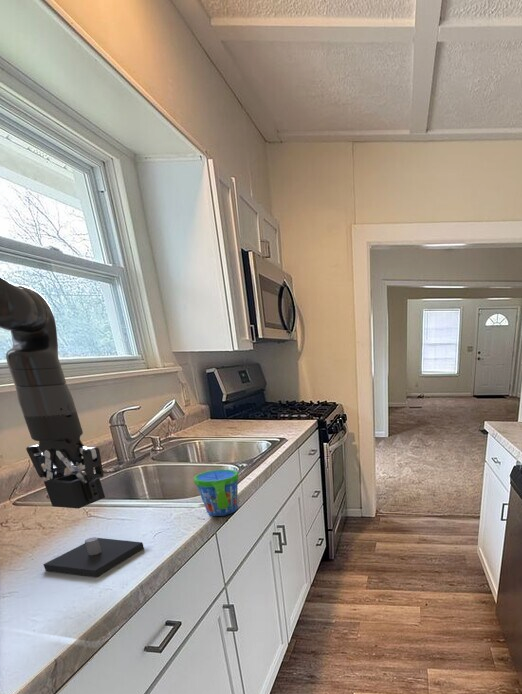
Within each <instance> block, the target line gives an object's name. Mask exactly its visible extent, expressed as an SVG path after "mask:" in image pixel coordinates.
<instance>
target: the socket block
mask: <svg viewBox="0 0 522 694" xmlns="http://www.w3.org/2000/svg"><path fill="white" fill-rule="evenodd" d="M82 473H83V474H84V476H87V475H86V473H85V472H82ZM43 483H44V486H45V489H46V492H47V494H48V498H49V501H50V503H51V506H52V507H53V508H67V509H77V510H78V509H81V508H84V507H86V506H89V505H91V504H94V503H96V502H98V501H101V500H104V499H105V498H106V494H105V491H104V488H103V486H102V485H103V484H102V482H101V478H99V479H96V480H95V483H96V486H97V490H98V493H99V498H98V499H97V500H95V501H92V502H87V501H86V499H85V496H84V493H83V489H82V486H81V484H82V483H81V482H80V480H79V479H78V477H77V476H76V475H75V474H72V473H71V472H69V473H65V474H64V475H63V476H60V477H56V478H53V479H50V480H47V479H46V480H44V481H43Z"/></svg>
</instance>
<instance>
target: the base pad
mask: <svg viewBox="0 0 522 694" xmlns="http://www.w3.org/2000/svg"><path fill="white" fill-rule="evenodd" d="M143 549H145V547H144V543H143V542H141V541H133V540H123V539H113V538H106V537H105V538H103V537H95V536H94V537H93V536H92V537H89V538H86V539H85V540H84V543H82V544H80V545H78V546H77V547H75V548H72V549H70V550H69V551H67V552H65V553H63V554H61V555H59V556H57V557H55V558H53V559H50V560H49V561H47V562H45V563H43V564H42V565H43V568H44V571H46V572H52V573H59V574H67V575H75V576H76V575H77V576H82V577H91V578H98V577H100V576H101V575H104V574H105V573H107V572H108V571H110V570H112V569H113V568H115V567H117V566H118V565H120V564H122V563H123V562H124V561H126V560H128V559H129V558H131V557H132V556H135V554H138V553H140V552H141V551H142V550H143Z"/></svg>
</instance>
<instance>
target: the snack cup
mask: <svg viewBox="0 0 522 694" xmlns="http://www.w3.org/2000/svg"><path fill="white" fill-rule="evenodd" d="M239 477H240V475H239V472H238V471H236V470H234V469H214V470H213V469H212V470H207V471H204V472H200V473H198V474H196V475H195V476H193V482H194V484H195V486H196V487H197V490H198V493H199V495H200V498H201V500H202V503H203V506H204V508H205V511H206V513H207V514H208V515H209V516H211V517H212V516H213V517H224V516H228V515H231V514H232V513H233V514H234V513H235V512H237V511H238V503H239V502H238V496H239V495H238V492H239V491H238V489H239V488H238V485H239V484H238V481H239Z"/></svg>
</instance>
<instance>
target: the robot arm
mask: <svg viewBox="0 0 522 694" xmlns="http://www.w3.org/2000/svg"><path fill="white" fill-rule="evenodd" d="M0 329H3V330H6V331H10V335H11V340H12V347H11V348H10V349H8V350H7V351H6V353H5V359H6V363H7V367H8V371H9V373H10V376H11V379H12V381H13V384H14V386H15V391H16V396H17V400H18V405H19V407H20V410H21V413H22V415H23V418H24V422H25V424H26V426H27V431H28V433H29V435H30V438H31V440H33V441H34V442H38V443H37V444H34V445H31V446H27V447H26V448H25V450H26V452H27V454H28V456H29V459H30V460H31V463H32V465H33V468H34V469H35V472H36V474H37V475H38V477H39V478H40V479H43V478H45V479H46V481H47V480H50V479H53V478H56V477H60V476H63V475H65V470H66V469H68V471H69V473H72V474H75V475H76V476H77V477H78V479H79V480H80V482H81V483H82V484H81V486H82V489H83V493H84V496H85V499H86V501H87V502H92V501H95V500H97V499H98V498H99V493H98V490H97V486H96V483H95V480H96V479H99V478H100V479H101V478H103V477H104V469H103V463H102V457H101V451H100V448H99V447H98V446H93V447H87V446H85V445H84V444H83V442H82V440H81V436H82V435H83V433H84V431H83V428H82V425H81V422H80V417H79V415H78V411H77V408H76V405H75V401H74V398H73V396H72V395H73V394H72V393H71V390H70V389H69V387H68V384H67V380H66V377H65V374H64V370H63V368H62V365H61V361H60V358H59V343H58V332H57V324H56V319H55V315H54V312H53V310H52V307H51V306H50V303H48V301H47V299H46V298H45V297H44V296H43V295H42V294H41V293H40V292H38V291H37V290H35V289H34V288H31V287H28V286H25V285H20V284H17V283H13V282H9V281H8V280H6V279H5V278H3V277H1V276H0ZM42 464H44V467H43V465H42ZM94 471H95V472H94ZM83 473H86V475H87V476H84V474H83Z"/></svg>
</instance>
